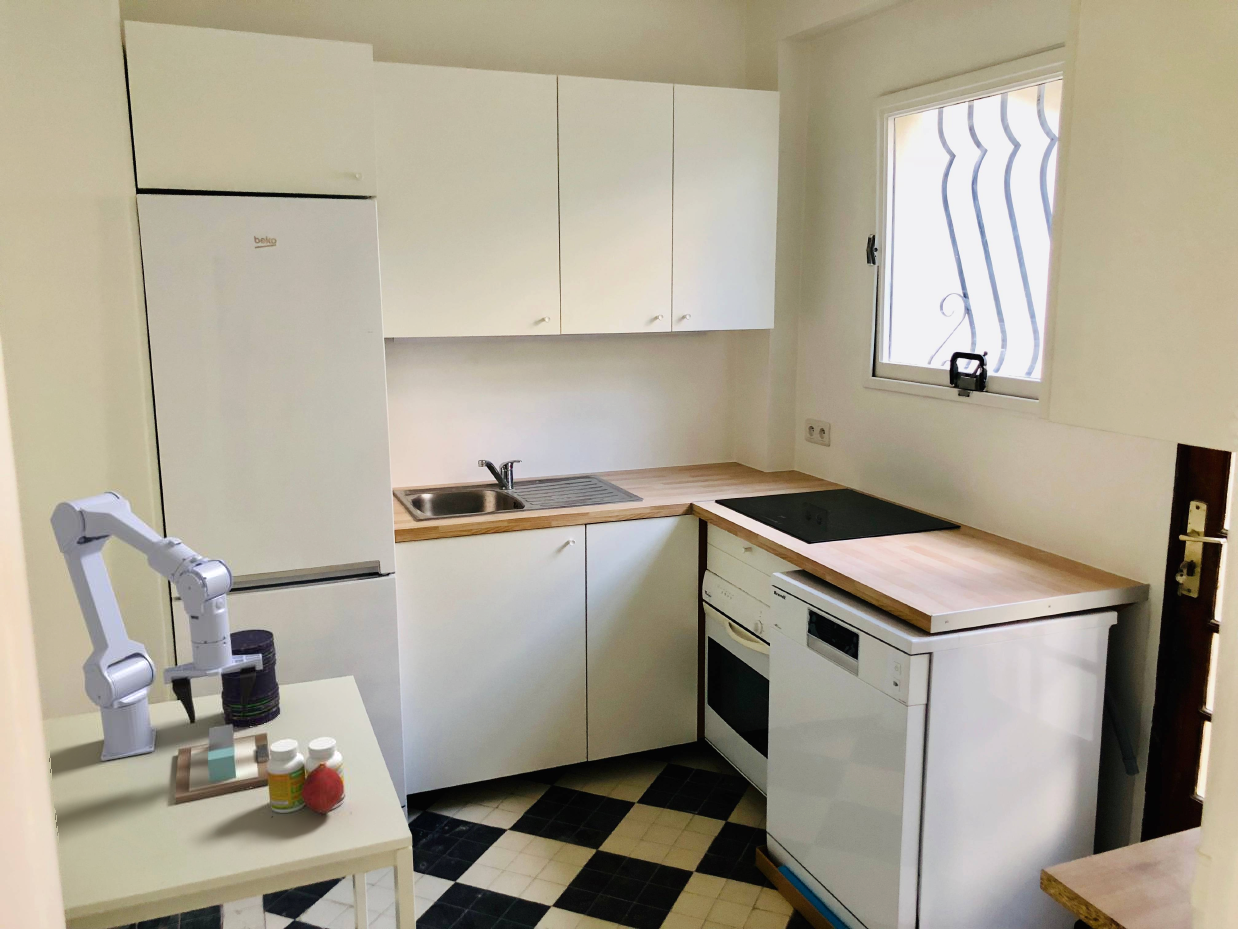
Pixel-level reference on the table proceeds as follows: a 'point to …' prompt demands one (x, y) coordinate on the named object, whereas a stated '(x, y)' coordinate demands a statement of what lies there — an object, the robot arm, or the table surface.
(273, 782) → the supplement bottle
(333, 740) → the supplement bottle
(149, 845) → the table surface
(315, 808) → the onion
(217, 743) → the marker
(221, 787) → the clipboard
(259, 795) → the table surface
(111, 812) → the table surface
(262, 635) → the dark blue cylinder
